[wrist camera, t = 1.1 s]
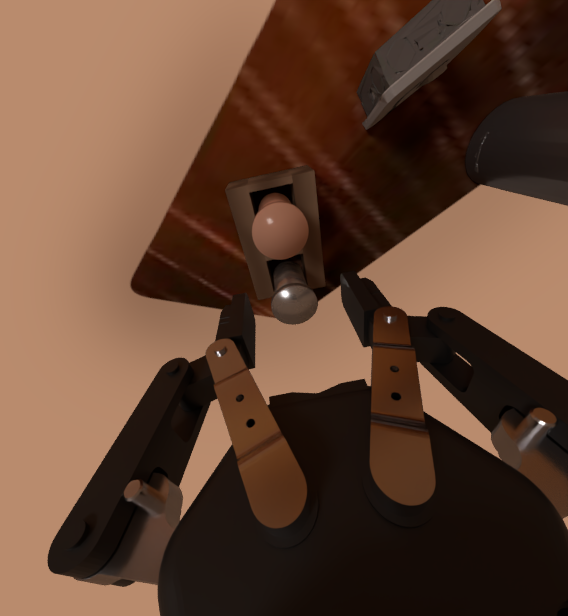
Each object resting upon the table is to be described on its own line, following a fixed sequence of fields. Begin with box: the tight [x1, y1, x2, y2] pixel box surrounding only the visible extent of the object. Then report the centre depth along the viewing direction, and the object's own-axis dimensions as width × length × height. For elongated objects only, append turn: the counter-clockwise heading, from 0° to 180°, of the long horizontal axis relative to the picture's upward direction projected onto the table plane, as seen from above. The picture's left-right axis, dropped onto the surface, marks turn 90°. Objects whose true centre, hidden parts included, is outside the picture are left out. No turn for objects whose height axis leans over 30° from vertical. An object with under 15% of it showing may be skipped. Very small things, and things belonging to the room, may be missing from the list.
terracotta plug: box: [252, 193, 309, 260], centre depth 25 cm, size 5×5×8 cm
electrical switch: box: [357, 0, 501, 130], centre depth 23 cm, size 9×5×9 cm, turn 126°
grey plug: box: [271, 261, 318, 324], centre depth 31 cm, size 5×5×8 cm
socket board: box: [225, 165, 325, 300], centre depth 33 cm, size 10×15×5 cm, turn 10°
